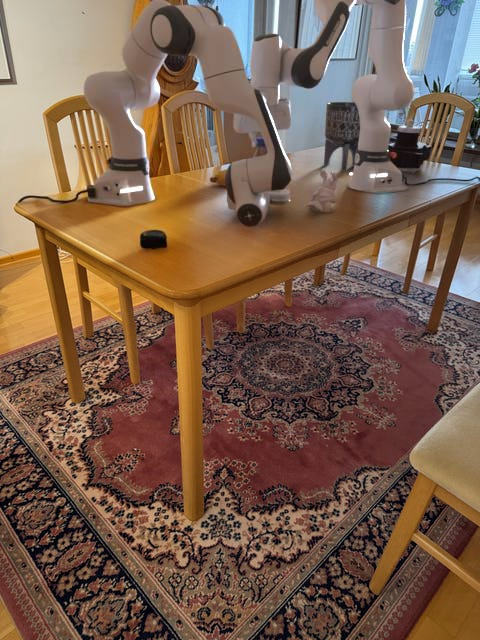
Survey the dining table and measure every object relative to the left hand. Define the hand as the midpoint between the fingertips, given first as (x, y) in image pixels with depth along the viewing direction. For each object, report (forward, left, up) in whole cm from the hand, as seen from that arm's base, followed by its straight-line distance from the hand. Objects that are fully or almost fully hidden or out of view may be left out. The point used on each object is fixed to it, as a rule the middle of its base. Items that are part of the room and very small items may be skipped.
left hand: (260, 189), depth 150 cm
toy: (-15, +26, -6) cm, 31 cm away
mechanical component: (+60, +74, -6) cm, 96 cm away
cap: (0, -1, +16) cm, 16 cm away
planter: (+31, +71, -6) cm, 78 cm away
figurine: (+20, -1, -6) cm, 21 cm away
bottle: (0, -1, -6) cm, 6 cm away
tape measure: (-23, -44, -6) cm, 50 cm away
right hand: (0, -1, +13) cm, 14 cm away
